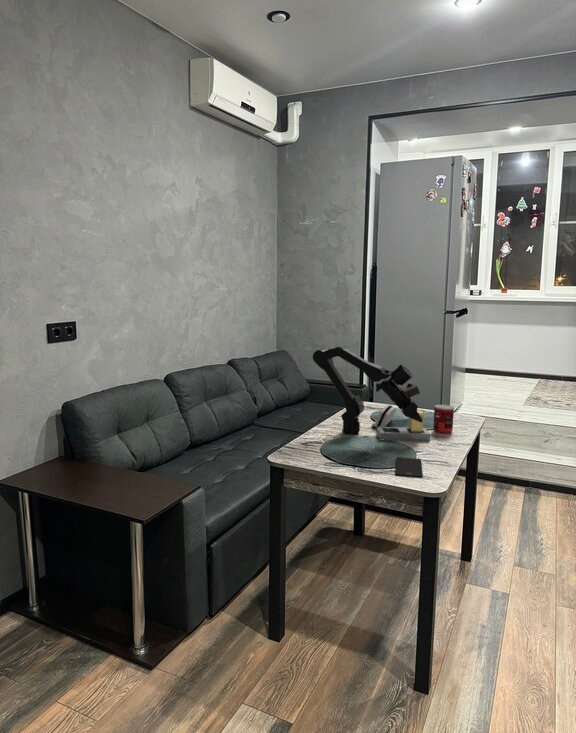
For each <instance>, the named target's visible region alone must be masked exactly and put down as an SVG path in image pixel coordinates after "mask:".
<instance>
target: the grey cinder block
mask: <svg viewBox="0 0 576 733" xmlns="http://www.w3.org/2000/svg"><path fill="white" fill-rule="evenodd" d="M376 436H377V437H378V438H380V439H384V440H383V441H389V440H393V442H394V441H399V442H400V441H402V442H405V441H406V442H431V432H429V430H428V429H427V428H426V427H423V430H422V433H409V427H402V426H401V427H397V426H396V427H393V426H391V427H388V426H385V427H379V426H378V427H376ZM380 439H379V440H380Z"/></svg>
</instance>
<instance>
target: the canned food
mask: <svg viewBox="0 0 576 733" xmlns="http://www.w3.org/2000/svg"><path fill="white" fill-rule="evenodd" d="M454 409H455V408H454V406H453V405H449V404H435V405H434V409H433V432H434V433H437V434H442V435H443V434H444V435H449V434H452V432H453V429H454V415H455V414H454V413H455V412H454V411H455V410H454Z"/></svg>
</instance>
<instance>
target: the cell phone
mask: <svg viewBox="0 0 576 733" xmlns="http://www.w3.org/2000/svg"><path fill="white" fill-rule="evenodd" d="M396 457H397V458H396ZM396 457H395V471H394V472H395V474H394V475H395V476H396V477H406V478H407V477H408V478H409V477H410V478H423V477H424V475H423V474H424V473H423V465H422V459H421V458H416V457H415V458H413V457H400V456H396Z"/></svg>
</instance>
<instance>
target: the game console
mask: <svg viewBox="0 0 576 733" xmlns="http://www.w3.org/2000/svg"><path fill="white" fill-rule="evenodd" d="M396 412H397V408H396V406H393V405H391V404H386V405H385V406H384V407H383V408H382V409H381V411H380V412H379V414H378V416H377V418H376V421H375V422H373V423H372V424H371V426H370V428H371V429H373V427H375V428H377V427H387V426H388V425H389V424H390V423H391V422H392V421H393V419H394V416H395V414H396ZM391 420H392V421H391ZM390 421H391V422H390ZM389 422H390V423H389ZM388 423H389V424H388ZM387 424H388V425H387Z"/></svg>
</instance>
